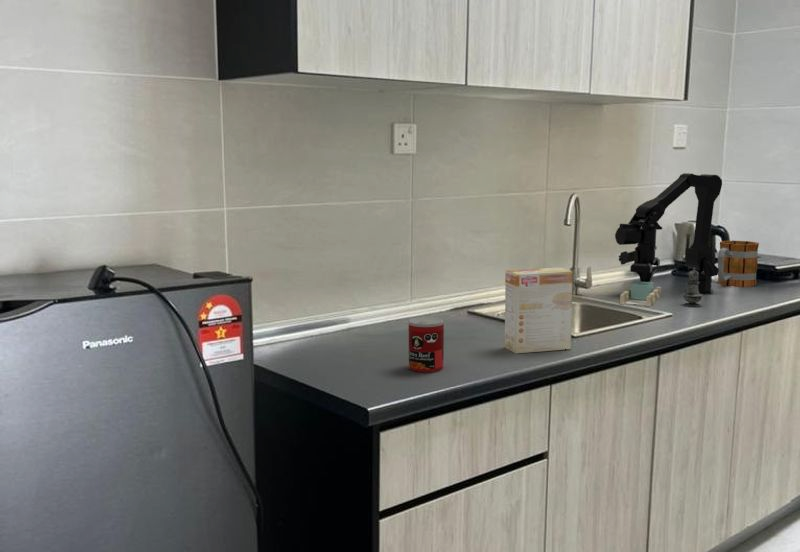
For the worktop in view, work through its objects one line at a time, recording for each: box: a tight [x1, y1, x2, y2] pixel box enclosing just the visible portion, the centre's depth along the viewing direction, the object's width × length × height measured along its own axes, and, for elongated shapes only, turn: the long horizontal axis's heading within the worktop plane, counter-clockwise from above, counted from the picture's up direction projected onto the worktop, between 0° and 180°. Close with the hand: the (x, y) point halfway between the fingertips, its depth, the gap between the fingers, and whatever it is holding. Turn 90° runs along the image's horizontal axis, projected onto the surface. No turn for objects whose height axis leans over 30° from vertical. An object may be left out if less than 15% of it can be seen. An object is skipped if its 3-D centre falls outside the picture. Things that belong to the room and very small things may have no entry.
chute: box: [619, 286, 662, 308], centre depth 254 cm, size 20×9×3 cm, turn 153°
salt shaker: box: [682, 268, 704, 308], centre depth 244 cm, size 6×6×12 cm
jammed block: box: [630, 280, 654, 301], centre depth 255 cm, size 6×6×5 cm
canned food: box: [408, 316, 445, 373], centre depth 176 cm, size 8×8×11 cm
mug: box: [717, 240, 760, 288], centre depth 280 cm, size 20×14×15 cm
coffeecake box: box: [504, 267, 573, 355], centre depth 192 cm, size 15×7×20 cm, turn 105°
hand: (644, 290), depth 259 cm, fingers closed
